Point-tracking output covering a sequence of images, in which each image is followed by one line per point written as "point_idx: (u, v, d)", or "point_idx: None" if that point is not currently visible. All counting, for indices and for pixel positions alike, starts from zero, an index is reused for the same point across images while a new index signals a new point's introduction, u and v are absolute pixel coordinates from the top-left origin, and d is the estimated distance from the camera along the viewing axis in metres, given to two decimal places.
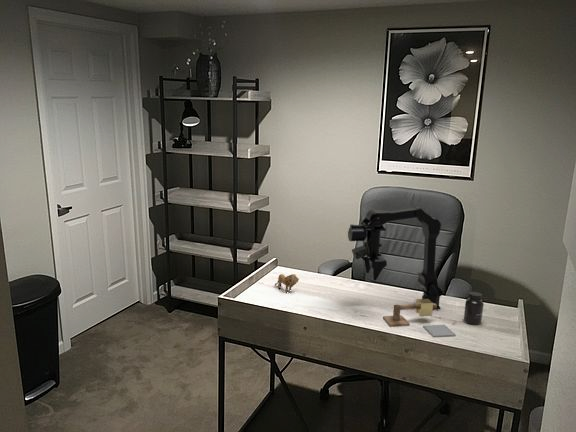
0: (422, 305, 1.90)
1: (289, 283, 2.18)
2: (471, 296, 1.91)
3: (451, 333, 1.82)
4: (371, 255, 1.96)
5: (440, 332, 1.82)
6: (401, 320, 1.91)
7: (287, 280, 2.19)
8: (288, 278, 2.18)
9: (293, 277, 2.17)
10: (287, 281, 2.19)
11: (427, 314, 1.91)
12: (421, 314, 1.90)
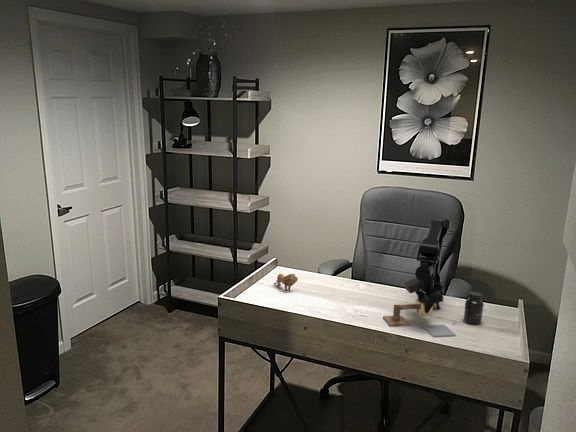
0: (422, 305, 1.90)
1: (288, 283, 2.19)
2: (471, 296, 1.91)
3: (451, 333, 1.82)
4: (425, 289, 1.88)
5: (440, 332, 1.82)
6: (401, 320, 1.91)
7: (286, 280, 2.19)
8: (287, 278, 2.19)
9: (292, 277, 2.18)
10: (286, 281, 2.19)
11: (427, 314, 1.91)
12: (421, 314, 1.90)
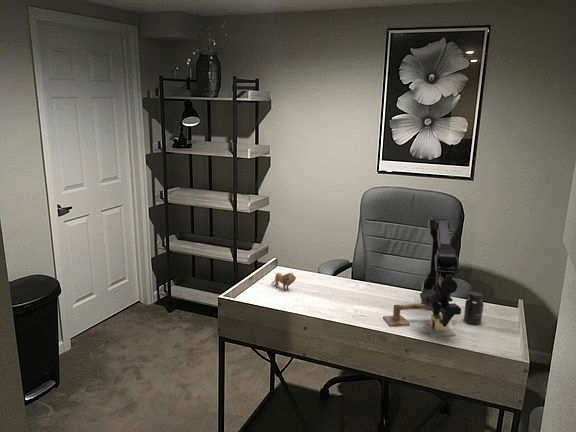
0: (438, 321, 1.81)
1: (286, 282, 2.20)
2: (471, 296, 1.91)
3: (451, 333, 1.82)
4: (442, 300, 1.79)
5: None
6: (401, 320, 1.91)
7: (284, 279, 2.20)
8: (285, 277, 2.20)
9: (290, 276, 2.19)
10: (284, 280, 2.20)
11: (443, 330, 1.82)
12: (437, 330, 1.82)
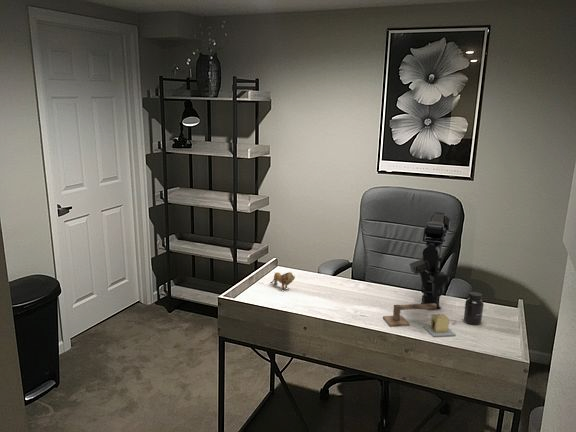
0: (438, 321, 1.81)
1: (285, 281, 2.21)
2: (471, 296, 1.91)
3: (451, 333, 1.82)
4: (431, 270, 1.88)
5: None
6: (401, 320, 1.91)
7: (283, 278, 2.21)
8: (284, 276, 2.21)
9: (289, 275, 2.20)
10: (283, 279, 2.21)
11: (443, 330, 1.82)
12: (437, 330, 1.82)
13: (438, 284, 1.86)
